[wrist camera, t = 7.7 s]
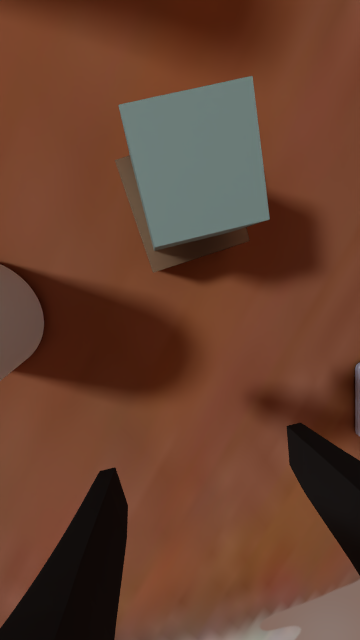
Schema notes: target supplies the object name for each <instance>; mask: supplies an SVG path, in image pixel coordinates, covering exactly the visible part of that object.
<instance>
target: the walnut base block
mask: <svg viewBox="0 0 360 640" xmlns="http://www.w3.org/2000/svg"><path fill="white" fill-rule="evenodd" d="M115 162H116V165H117V168H118V171H119V174H120V177H121V180H122V183H123V186H124V188H125V191H126V194H127V197H128V200H129V203H130V206H131V209H132V212H133V215H134V218H135V221H136V224H137V227H138V230H139V233H140V236H141V238H142V241H143V244H144V247H145V250H146V253H147V256H148V259H149V262H150V265H151V268H152V271H153V272H157V271H160V270H163V269H166V268H169V267H172V266H175V265H178V264H181V263H184V262H187V261H190V260H193V259H196V258H199V257H202V256H205V255H208V254H211V253H214V252H218V251H221V250H224V249H227V248H230V247H233V246H236V245H239V244H242V243H245V242H248V241H249V236H248V232H247V227H245V228H242V229H239V230H235V231H232V232H229V233H225V234H221V235H217V236H213V237H209V238H205V239H201V240H196V241H192V242H188V243H184V244H180V245H176V246H172V247H168V248H164V249H160V250H156V251H154V248H153V244H152V240H151V236H150V233H149V229H148V225H147V221H146V217H145V213H144V209H143V205H142V201H141V197H140V193H139V189H138V186H137V182H136V178H135V174H134V170H133V166H132V162H131V157H130V156H127V157H123V158H120V159H117V160H115Z"/></svg>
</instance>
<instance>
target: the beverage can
mask: <svg viewBox="0 0 360 640" xmlns="http://www.w3.org/2000/svg"><path fill="white" fill-rule="evenodd" d="M43 330H44V317H43V311H42V308H41V305H40V302H39V300H38V298H37V296H36V295H35V293H34V291H33V290H32V289H31V287H30V286H29V285H28V284H27V283H26V282H25V281H24V280H23V279H22V278H21V277H20V276H19V275H18V274H16V273H15V272H13V271H12V270H10V269H9V268H7V267H5V266H3V265H1V264H0V381H1V380H2V379H3V378H4V377H6V376H7V375H8V374H9V373H11V372H12V371H13V370H14V369H15V368H17V367H18V366H19V365H20V364H22V363H23V362H24V361H25V360H26V359H28V358H29V357H30V356H31V355H32V354H33V353H34V351H35V350H36V349H37V347H38V345H39V343H40V341H41V339H42V335H43Z"/></svg>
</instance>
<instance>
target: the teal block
mask: <svg viewBox="0 0 360 640" xmlns="http://www.w3.org/2000/svg"><path fill="white" fill-rule="evenodd" d="M119 109H120V113H121V118H122V122H123V127H124V131H125V135H126V140H127V144H128V149H129V153H130V157H131V162H132V166H133V170H134V174H135V178H136V182H137V186H138V189H139V193H140V197H141V201H142V205H143V209H144V213H145V217H146V221H147V225H148V229H149V233H150V236H151V240H152V244H153V248H154V251H156V250H160V249H164V248H168V247H172V246H176V245H180V244H184V243H188V242H192V241H196V240H201V239H205V238H209V237H213V236H217V235H221V234H225V233H229V232H232V231H235V230H239V229H242V228H245V227H248V226H251V225H254V224H257V223H260V222H263V221H266V220H269V219H270V217H269V209H268V201H267V193H266V184H265V176H264V168H263V160H262V152H261V143H260V135H259V127H258V119H257V110H256V102H255V94H254V86H253V77H252V76H250V77H245V78H241V79H236V80H231V81H227V82H222V83H217V84H213V85H208V86H204V87H199V88H194V89H190V90H185V91H180V92H176V93H171V94H167V95H162V96H157V97H153V98H148V99H143V100H139V101H134V102H129V103H125V104H120V105H119Z"/></svg>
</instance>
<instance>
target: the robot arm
mask: <svg viewBox="0 0 360 640" xmlns="http://www.w3.org/2000/svg"><path fill="white" fill-rule="evenodd" d="M355 432H356V434H357V435H358V436H360V363H358V364H357V365H356V368H355ZM287 436H288V449H289V462H290V466H291V468H292V470H293V472H294V474H295V476H296V478H297V480H298V481H299V483H300V485H301V487H302V489H303V490H304V492H305V494H306V495H307V497H308V498H309V500H310V501H311V503H312V504H313V506H314V507H315V509H316V510H317V512H318V513H319V515H320V516H321V518H322V519H323V521H324V522H325V524H326V525H327V527H328V528H329V530H330V531H331V533H332V534H333V535H334V537H335V538H336V540H337V541H338V543H339V544H340V546H341V547H342V549H343V550H344V552H345V553H346V555H347V556H348V558H349V559H350V561H351V562H352V564H353V566H354V567H355V569H356V570H357V572H358V573H359V575H360V461H359V460H358V459H356V458H354V457H353V456H351V455H350V454H348V453H346V452H345V451H343V450H342V449H340V448H338V447H337V446H335V445H334V444H332V443H331V442H329V441H328V440H326V439H325V438H323V437H322V436H320V435H319V434H317V433H316V432H314V431H313V430H311V429H310V428H308V427H306V426H305V425H303V424H302V423H298V424H293V425H289V426H287ZM127 517H128V504H127V501H126V498H125V495H124V492H123V489H122V486H121V483H120V480H119V477H118V474H117V471H116V468H111V469H107V470H103V471H100V472H99V473H98V475H97V477H96V479H95V481H94V482H93V484H92V486H91V488H90V490H89V492H88V493H87V495H86V497H85V499H84V501H83V502H82V504H81V506H80V508H79V509H78V511H77V513H76V515H75V516H74V518H73V520H72V521H71V523H70V525H69V526H68V528H67V530H66V532H65V533H64V535H63V537H62V538H61V540H60V541H59V543H58V545H57V546H56V548H55V549H54V551H53V553H52V554H51V556H50V557H49V559H48V560H47V562H46V564H45V565H44V567H43V568H42V570H41V571H40V573H39V574H38V576H37V577H36V579H35V580H34V582H33V583H32V585H31V586H30V588H29V589H28V591H27V592H26V593H25V595H24V596H23V598H22V599H21V601H20V602H19V603H18V605H17V606H16V608H15V609H14V610H13V612H12V613H11V615H10V616H9V617H8V619H7V620H6V621H5V623H4V624H3V625H2V627H1V628H0V640H114V638H115V628H116V619H117V611H118V603H119V596H120V588H121V580H122V572H123V564H124V556H125V548H126V540H127Z"/></svg>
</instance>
